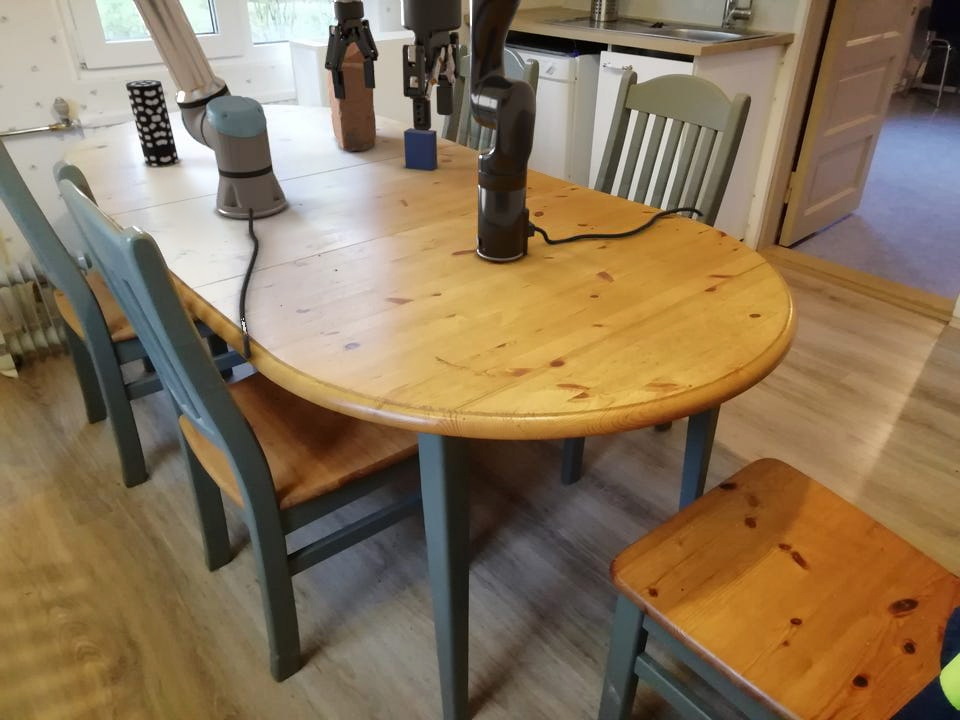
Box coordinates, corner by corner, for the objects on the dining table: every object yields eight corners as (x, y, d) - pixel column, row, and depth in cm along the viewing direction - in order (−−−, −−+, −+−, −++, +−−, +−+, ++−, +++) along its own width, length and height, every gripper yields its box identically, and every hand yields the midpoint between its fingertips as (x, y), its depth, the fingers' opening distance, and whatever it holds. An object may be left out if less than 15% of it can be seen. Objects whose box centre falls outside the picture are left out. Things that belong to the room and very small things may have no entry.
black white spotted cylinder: (184, 157, 190) (167, 80, 179) (169, 166, 183) (151, 87, 172) (155, 156, 190) (136, 79, 179) (139, 165, 183) (119, 86, 172)
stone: (383, 150, 197) (374, 42, 182) (343, 153, 194) (332, 44, 179) (369, 134, 214) (360, 34, 200) (332, 137, 211) (321, 36, 197)
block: (411, 163, 188) (409, 128, 183) (437, 166, 186) (436, 130, 181) (405, 167, 185) (403, 131, 180) (432, 170, 183) (431, 134, 178)
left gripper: (362, -6, 176) (370, 82, 187) (302, 4, 157) (314, 101, 168) (388, -5, 173) (393, 85, 185) (329, 6, 154) (339, 104, 166)
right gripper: (423, -19, 91) (427, 108, 100) (378, -11, 80) (387, 132, 88) (477, -17, 89) (476, 112, 98) (438, -8, 78) (441, 137, 87)
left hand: (355, 93), depth 177 cm, fingers open, 13 cm apart
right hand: (434, 121), depth 93 cm, fingers open, 8 cm apart
